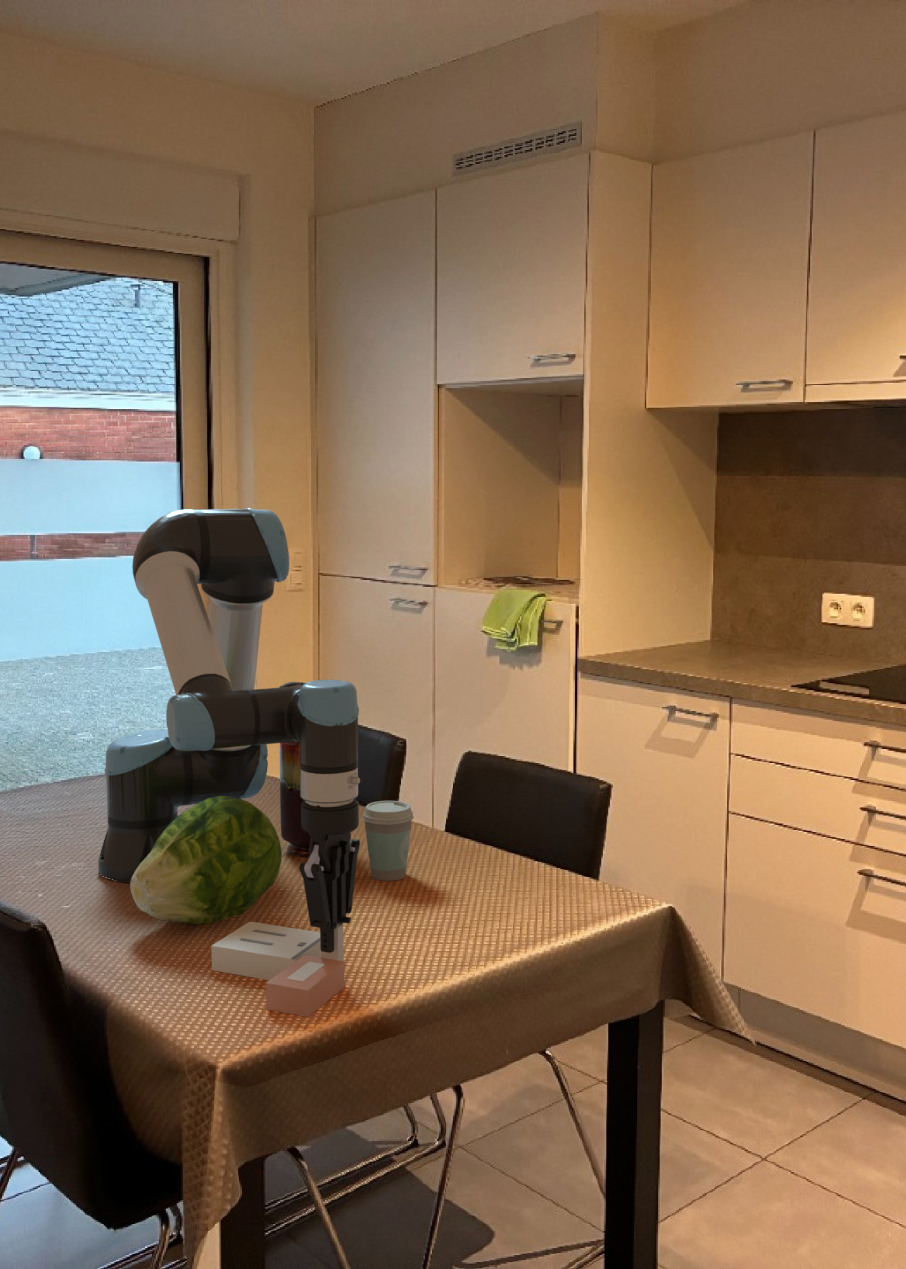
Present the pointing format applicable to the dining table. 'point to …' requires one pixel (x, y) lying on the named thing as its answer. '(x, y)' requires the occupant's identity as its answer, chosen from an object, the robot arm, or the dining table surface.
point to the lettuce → (209, 863)
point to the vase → (292, 800)
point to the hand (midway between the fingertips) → (332, 971)
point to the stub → (305, 985)
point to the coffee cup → (388, 838)
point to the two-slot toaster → (263, 950)
